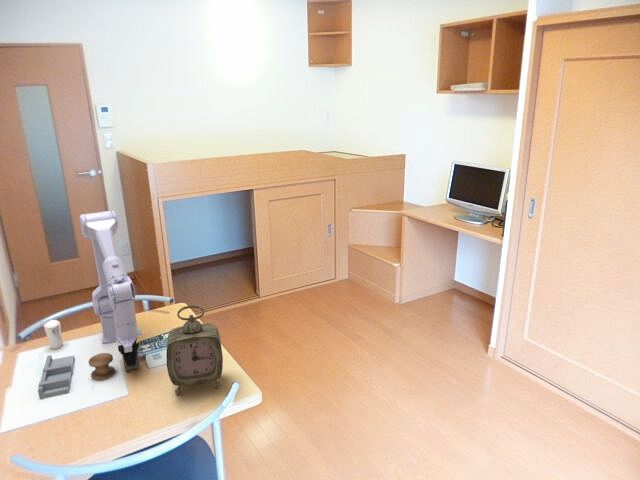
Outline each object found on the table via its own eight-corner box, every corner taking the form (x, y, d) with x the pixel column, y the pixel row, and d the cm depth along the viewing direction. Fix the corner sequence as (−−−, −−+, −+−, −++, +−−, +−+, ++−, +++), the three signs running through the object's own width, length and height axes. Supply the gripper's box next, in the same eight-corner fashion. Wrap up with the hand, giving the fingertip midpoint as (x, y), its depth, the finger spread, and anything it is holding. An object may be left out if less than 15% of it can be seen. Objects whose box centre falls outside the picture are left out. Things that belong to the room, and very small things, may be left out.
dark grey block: (124, 363, 139) (122, 345, 137) (139, 360, 140) (136, 343, 138) (124, 370, 135) (122, 352, 133) (139, 367, 137) (136, 349, 135)
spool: (92, 370, 137) (89, 355, 135) (115, 365, 139) (112, 351, 137) (90, 382, 131) (87, 367, 129) (115, 377, 133) (112, 362, 132)
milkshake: (46, 345, 150) (40, 318, 147) (64, 341, 152) (59, 314, 149) (45, 352, 146) (39, 324, 143) (64, 348, 148) (58, 320, 145)
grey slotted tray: (49, 363, 140) (47, 354, 139) (74, 358, 143) (73, 349, 142) (39, 398, 124) (37, 388, 123) (68, 392, 127) (66, 382, 126)
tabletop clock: (170, 399, 124) (160, 316, 116) (171, 379, 132) (162, 301, 124) (225, 390, 128) (219, 309, 120) (222, 372, 136) (216, 295, 128)
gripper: (141, 329, 128) (146, 371, 132) (139, 307, 141) (144, 346, 145) (113, 334, 125) (120, 376, 130) (114, 311, 138) (120, 350, 143)
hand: (131, 361), depth 137 cm, fingers closed on dark grey block, 4 cm apart
